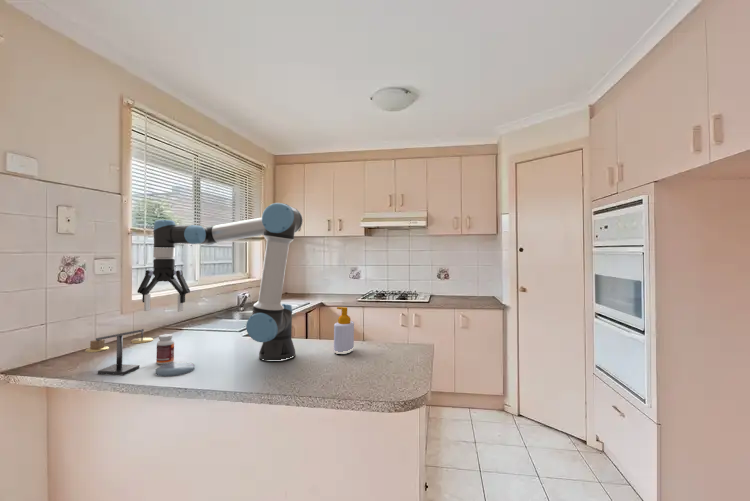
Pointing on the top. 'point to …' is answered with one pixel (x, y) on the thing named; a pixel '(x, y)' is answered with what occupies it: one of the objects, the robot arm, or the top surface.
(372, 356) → the top surface
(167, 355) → the pill bottle
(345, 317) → the soap bottle
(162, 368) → the dish
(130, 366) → the balance
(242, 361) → the top surface
